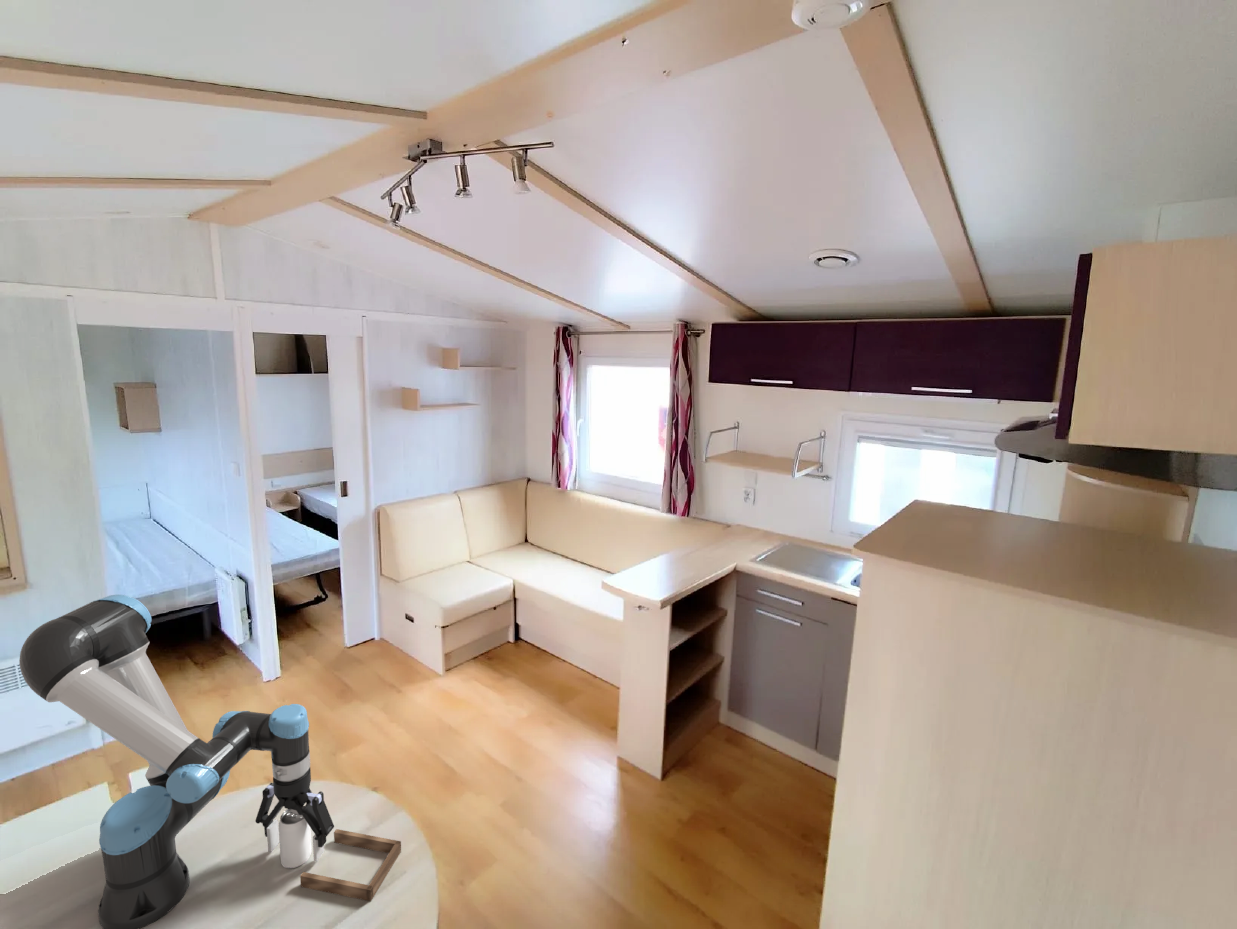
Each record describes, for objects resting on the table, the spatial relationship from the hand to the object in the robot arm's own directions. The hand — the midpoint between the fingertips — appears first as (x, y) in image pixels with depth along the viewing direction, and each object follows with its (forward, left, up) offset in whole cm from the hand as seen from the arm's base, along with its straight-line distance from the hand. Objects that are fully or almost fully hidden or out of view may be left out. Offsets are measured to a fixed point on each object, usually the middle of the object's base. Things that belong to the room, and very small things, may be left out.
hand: (296, 851), depth 135 cm
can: (0, 0, -2) cm, 2 cm away
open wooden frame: (+14, 0, -2) cm, 15 cm away
